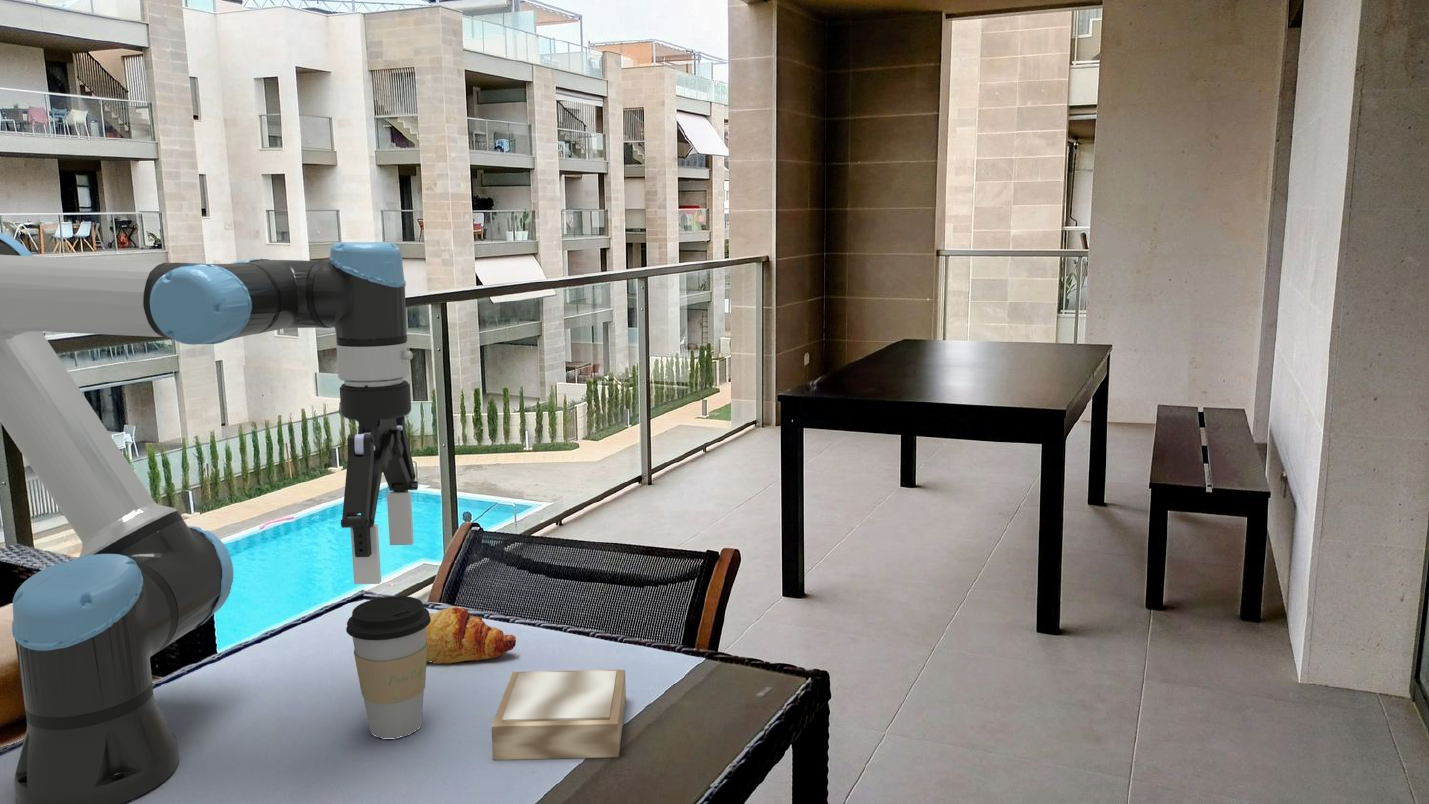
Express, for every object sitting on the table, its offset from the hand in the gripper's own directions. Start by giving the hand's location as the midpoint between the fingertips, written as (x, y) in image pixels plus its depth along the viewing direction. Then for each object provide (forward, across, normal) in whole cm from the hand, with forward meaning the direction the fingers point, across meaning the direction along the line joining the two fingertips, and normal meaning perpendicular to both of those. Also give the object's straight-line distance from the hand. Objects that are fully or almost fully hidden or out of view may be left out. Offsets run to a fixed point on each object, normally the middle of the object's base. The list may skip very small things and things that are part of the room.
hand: (385, 562), depth 117 cm
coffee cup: (+21, 0, 0) cm, 21 cm away
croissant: (+21, +22, -1) cm, 30 cm away
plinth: (+20, -1, -20) cm, 29 cm away
